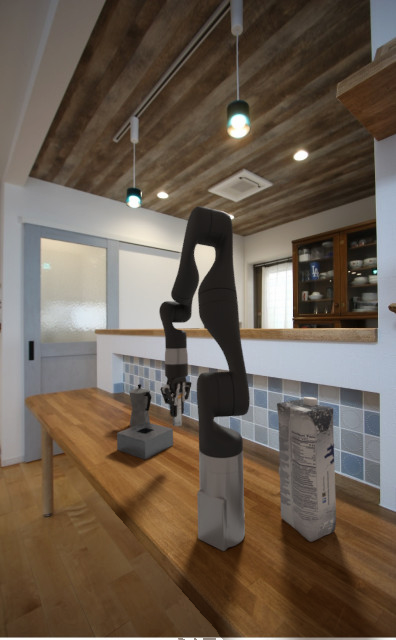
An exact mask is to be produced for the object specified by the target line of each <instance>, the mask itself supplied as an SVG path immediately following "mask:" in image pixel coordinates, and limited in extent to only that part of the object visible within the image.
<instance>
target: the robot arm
mask: <svg viewBox="0 0 396 640" xmlns="http://www.w3.org/2000/svg"><path fill="white" fill-rule="evenodd" d="M233 234H234V230H233V221H232V217H231V216H230V214H229V213H227V212H226V211H222V210H219V209H214V208H209V207H205V206H195V207H194V208H193V209H192V210H191V212H190V214H189V217H188V220H187V223H186V227H185V232H184V236H183V237H184V238H183V242H182V248H181V254H180V259H179V266H178V270H177V274H176V276H175V280H174V283H173V285H172V289H171V291H170V296H171V299H172V300H171V301H169V300H166V301H164V302H162V303H161V304H160V307H159V318H160V320H161V321H160V322H161V323H162V327H163V331H164V332H163V333H164V338H165V339H164V340H165V347H164V348H165V351H164V375H165V377H166V384H165V386H163V387H162V386H161V387H160V393H161V395H162V396H161V397H163V401H164V404H167V405H169V415H170V417H172V418H173V417H177V398H178V397H179V393H181V416H182V415H184V413H185V412H184V411H185V402H186V401H187V400H189V397H190V392H191V388H192V385H193V384H192V381H187V378H186V377H188V376H189V361H188V360H189V358H188V357H189V356H188V346H187V339H188V338H187V332H186V331H185V330H182V329H179V328H178V329H177V328H175V325H174V324H175V323H177V324H179V323H186V322H188V321H189V320H190V319H191V317H192V313H193V312H192V311H193V300H194V296H195V294H196V291H197V301H198V303H197V304H198V315H199V319H200V321H201V322H202V324H203V327H204V328H205V329H206V330H207V331H208V333H209V334H210V336H211V337H212V338H213V339H214V341H215V342H216V343H217V345H218V346H219V348H220V350H221V351H222V353H223V356H224V358H225V360H226V363H227V366H228V371H208V372H202V373H200V374H199V375H198V377H197V379H196V380H197V381H196V402H197V403H196V404H197V416H198V417H197V418H198V461H199V462H198V463H199V464H198V471H199V490H198V491H197V538H198V540H200V541H202V542H204V543H206V544H208V545H211V546H212V547H215V548H216V549H218V550H220V551H222V552H225V551H227V549H228V548H231V547H234V546H237V545H238V544H240V543H241V542H242V541H243V540H244V537H245V533H246V531H245V529H246V528H245V525H246V524H245V495H244V494H245V492H244V491H245V489H244V488H245V486H244V485H245V483H244V482H245V481H244V445H243V444H244V440H243V437H242V435H241V434H240V432H238V431H237V430H234V429H233V428H231V427H230V428H229V427H226V426H223V425H221V424H219V423H217V422H216V421H215V418H223V417H226V418H227V417H240V416H241V417H242V416H245V415H247V414H248V412H249V409H250V387H249V382H248V375H247V370H246V364H245V358H244V353H243V346H242V340H241V328H240V317H239V316H240V315H239V301H238V295H237V294H238V293H237V287H236V281H235V268H234V237H233V236H234V235H233ZM197 245H200V246H205V247H206V246H207V247H211V248H214V251H215V253H214V254H215V258H214V262H213V263H212V266H211V267H210V269H209V271H207V273H206V275H205V276H204V278H203V279H202V280H201V282H200V274H199V273H200V272H199V269H198V266H197V263H196V259H195V250H196V246H197ZM199 282H200V283H199ZM198 286H199V287H198ZM173 394H175V395H173ZM173 398H174V401H173Z"/></svg>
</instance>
